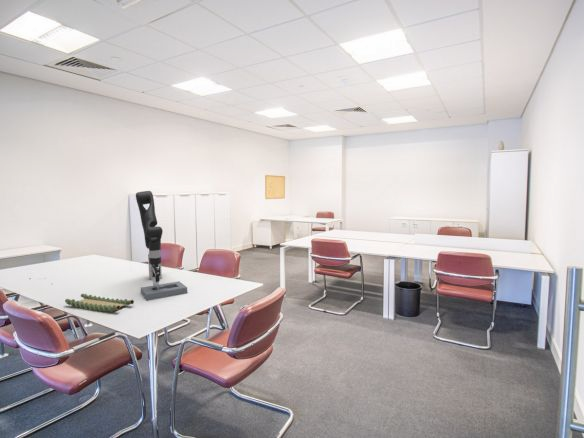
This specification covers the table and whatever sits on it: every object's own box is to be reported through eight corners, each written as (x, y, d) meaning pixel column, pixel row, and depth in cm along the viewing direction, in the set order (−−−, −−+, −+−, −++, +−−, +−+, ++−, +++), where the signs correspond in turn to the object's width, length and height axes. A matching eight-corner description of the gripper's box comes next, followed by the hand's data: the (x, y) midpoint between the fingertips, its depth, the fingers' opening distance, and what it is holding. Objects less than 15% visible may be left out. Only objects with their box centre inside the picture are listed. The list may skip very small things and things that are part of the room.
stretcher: (135, 306, 198) (135, 298, 198) (116, 315, 185) (115, 306, 184) (85, 299, 211) (84, 292, 210) (63, 307, 197) (62, 299, 197)
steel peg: (150, 294, 221) (149, 276, 220) (160, 292, 224) (159, 275, 223) (152, 296, 216) (151, 279, 214) (162, 294, 219) (161, 277, 218)
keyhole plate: (140, 293, 223) (140, 287, 222) (179, 286, 238) (179, 281, 237) (146, 300, 208) (146, 294, 208) (187, 293, 223) (187, 287, 223)
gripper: (146, 255, 221) (147, 278, 223) (151, 259, 210) (152, 283, 211) (158, 253, 225) (159, 276, 227) (163, 257, 214) (164, 281, 216)
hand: (156, 280), depth 219 cm, fingers open, 8 cm apart
